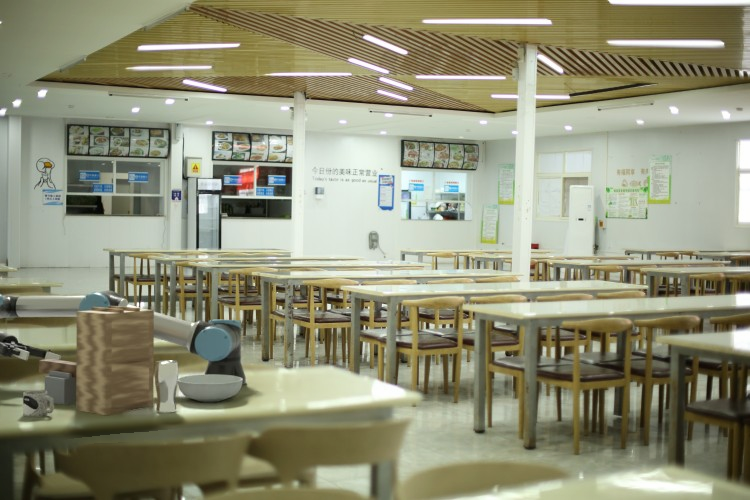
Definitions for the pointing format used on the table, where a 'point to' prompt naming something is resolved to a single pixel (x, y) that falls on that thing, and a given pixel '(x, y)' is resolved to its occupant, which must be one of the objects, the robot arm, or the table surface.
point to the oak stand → (114, 359)
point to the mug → (36, 403)
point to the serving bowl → (210, 387)
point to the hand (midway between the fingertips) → (43, 358)
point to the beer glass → (166, 385)
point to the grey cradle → (61, 387)
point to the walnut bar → (57, 366)
